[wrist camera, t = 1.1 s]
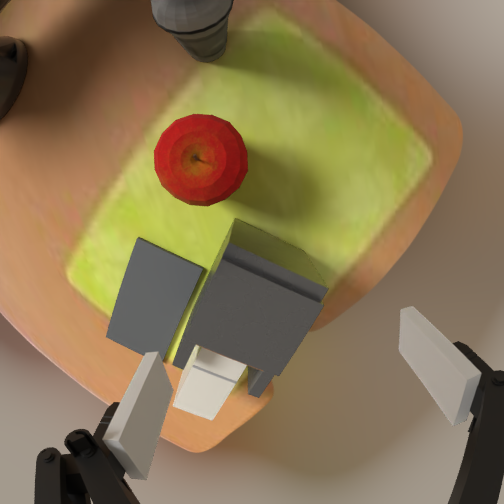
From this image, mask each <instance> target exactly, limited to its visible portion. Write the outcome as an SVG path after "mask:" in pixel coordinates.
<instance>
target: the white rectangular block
mask: <svg viewBox="0 0 504 504" xmlns="http://www.w3.org/2000/svg"><path fill="white" fill-rule="evenodd" d="M246 366H247V365H245V364H242V363H240V362H237V361H235V360H232V359H230V358H227V357H224V356H222V355H219V354H217V353H215V352H212V351H210V350H207V349H205V348H202V347H200V346H198V345H195V347H194V349H193V352H192V354H191V356H190V358H189V360H188V362H187V364H186V366H185V368H184V370H183V372H182V375H181V379H180V382H179V386H178V389H177V393H176V396H175V400H174V403H173V406H174V407H176V408H179V409H181V410H184V411H187V412H189V413H192V414H195V415H197V416H200V417H203V418H206V419H209V420H213V419H214V417H215V416H216V414H217V412H218V411H219V409H220V408H221V406H222V405H223V403H224V401H225V400H226V398H227V397H228V395H229V394H230V392H231V390H232V389H233V387H234V386H235V384H236V383H237V381H238V379H239V378H240V376H241V374H242V373H243V371H244V369H245V368H246Z"/></svg>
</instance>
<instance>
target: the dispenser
mask: <svg viewBox="0 0 504 504" xmlns="http://www.w3.org/2000/svg"><path fill="white" fill-rule="evenodd" d="M327 290H328V287H327V285H326V284H325V282H324V281H323V279H322V278H321V276H320V275H319V273H318V272H317V270H316V269H315V267H314V266H313V264H312V263H311V261H310V260H309V258H308V257H307V255H306V253H305V252H304V251H303V250H301V249H299V248H297V247H295V246H293V245H291V244H289V243H287V242H284V241H282V240H280V239H278V238H276V237H274V236H272V235H270V234H268V233H266V232H264V231H262V230H259V229H257V228H255V227H253V226H251V225H249V224H247V223H245V222H243V221H240V220H238V219H236V218H235V219H234V221H233V223H232V225H231V227H230V229H229V232H228V234H227V236H226V238H225V240H224V242H223V244H222V246H221V248H220V251H219V253H218V255H217V257H216V259H215V261H214V263H213V266H212V268H211V270H210V272H209V274H208V276H207V278H206V281H205V283H204V285H203V287H202V289H201V292H200V294H199V296H198V298H197V300H196V302H195V305H194V307H193V309H192V312H191V314H190V317H189V320H188V322H187V325H186V328H185V331H184V333H183V336H182V339H181V342H180V344H179V347H178V350H177V353H176V355H175V358H174V361H173V364H172V365H174V366H176V367H178V368H181V369H183V370H184V368H185V366H186V364H187V362H188V360H189V358H190V356H191V354H192V352H193V349H194V347H195V345H198V346H200V347H202V348H205V349H207V350H210V351H212V352H215V353H217V354H219V355H222V356H224V357H227V358H230V359H232V360H235V361H237V362H240V363H242V364H245V365H248V394H249V395H252V396H255V397H258V398H259V397H260V395H261V394H262V393H263V391H264V390H265V388H266V387H267V385H268V384H269V382H270V381H271V379H272V378H273V376H274V375H277V376H279V375H280V374H281V372H282V371H283V369H284V367H285V366H286V365H287V363H288V362H289V360H290V359H291V357H292V356H293V354H294V353H295V351H296V350H297V348H298V346H299V345H300V343H301V342H302V340H303V339H304V337H305V335H306V334H307V332H308V331H309V329H310V328H311V326H312V324H313V323H314V321H315V320H316V318H317V316H318V315H319V313H320V311H321V310H322V308H323V306H324V304H323V302H322V299H323V297H324V295H325V294H326V292H327Z"/></svg>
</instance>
